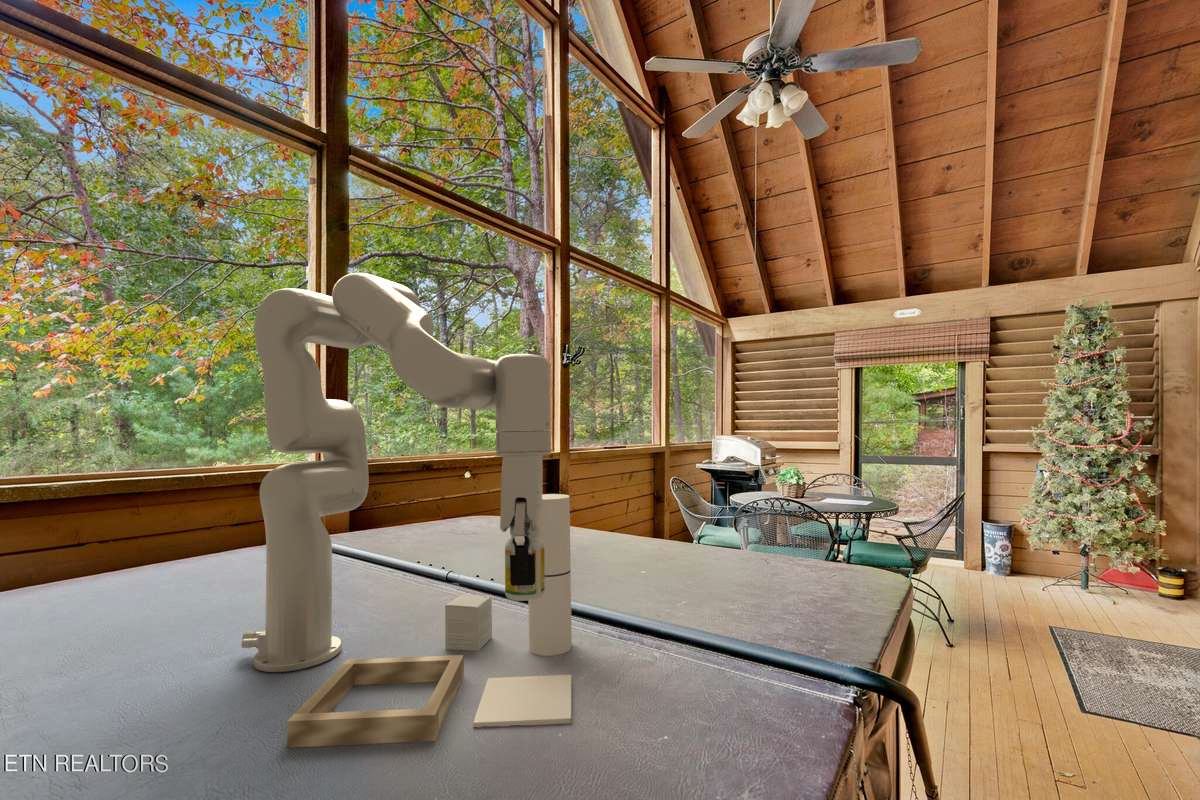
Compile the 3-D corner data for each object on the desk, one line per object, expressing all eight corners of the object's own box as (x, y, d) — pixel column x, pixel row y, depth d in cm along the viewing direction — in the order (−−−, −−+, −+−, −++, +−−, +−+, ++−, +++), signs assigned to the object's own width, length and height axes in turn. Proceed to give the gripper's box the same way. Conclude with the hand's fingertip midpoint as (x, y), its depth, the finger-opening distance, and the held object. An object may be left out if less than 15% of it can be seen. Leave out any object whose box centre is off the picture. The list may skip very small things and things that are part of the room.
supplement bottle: (523, 604, 70) (522, 528, 71) (496, 596, 74) (496, 524, 74) (553, 594, 74) (552, 523, 75) (526, 587, 78) (525, 519, 78)
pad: (473, 727, 67) (473, 722, 67) (488, 682, 79) (488, 678, 79) (571, 723, 68) (570, 718, 68) (571, 678, 80) (571, 674, 80)
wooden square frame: (287, 747, 63) (287, 721, 64) (347, 680, 80) (347, 659, 81) (435, 740, 64) (435, 714, 65) (463, 675, 81) (463, 655, 81)
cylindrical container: (565, 657, 87) (563, 499, 89) (522, 654, 89) (521, 499, 90) (576, 640, 94) (574, 494, 96) (536, 637, 96) (535, 493, 97)
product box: (460, 635, 97) (460, 593, 98) (493, 637, 96) (492, 595, 96) (444, 649, 91) (444, 604, 92) (478, 651, 90) (478, 606, 90)
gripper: (503, 443, 83) (504, 563, 83) (486, 447, 66) (487, 598, 65) (553, 442, 84) (554, 562, 83) (548, 446, 67) (550, 596, 66)
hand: (524, 576), depth 74 cm, fingers closed on supplement bottle, 5 cm apart
